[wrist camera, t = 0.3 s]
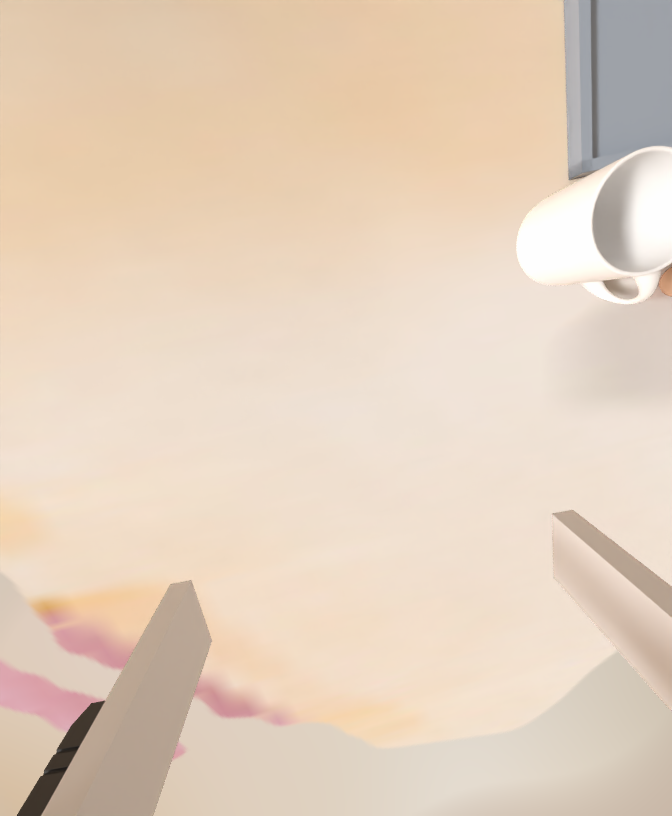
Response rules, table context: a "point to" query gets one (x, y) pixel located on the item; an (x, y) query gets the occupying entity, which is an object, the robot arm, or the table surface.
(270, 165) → the table surface
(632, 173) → the mug
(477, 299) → the table surface
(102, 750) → the robot arm
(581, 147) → the tray
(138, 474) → the table surface
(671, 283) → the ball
